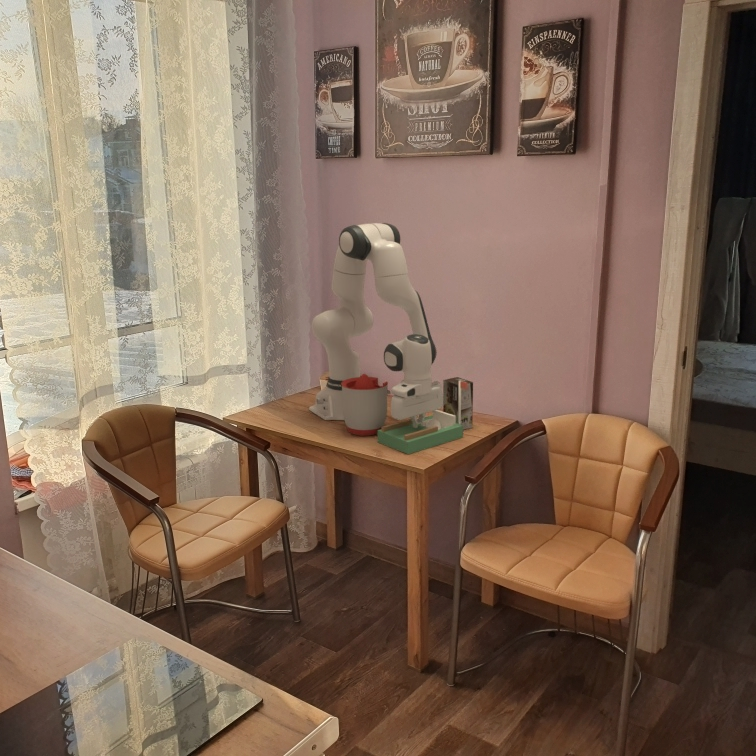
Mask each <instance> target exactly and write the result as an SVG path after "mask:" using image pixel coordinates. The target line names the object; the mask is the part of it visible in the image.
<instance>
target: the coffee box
mask: <svg viewBox="0 0 756 756" xmlns="http://www.w3.org/2000/svg"><path fill="white" fill-rule="evenodd" d="M442 381H443V382H442V383H443V384H442V389H443V390H442V394H443V406H442V409H443V410H442V412H445V413H448V414H452V415H455V416H456V423H457V424H458V401H459V381H463V382H466V383H467V390H466V389H463V388H461V425H463V431H464V430H468V429H473V422H474V421H473V413H474V412H473V409H474V407H473V405H474V382H473V381H470V380H468V379H465V378H462V377H452V378H447V379H443V380H442Z"/></svg>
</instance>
